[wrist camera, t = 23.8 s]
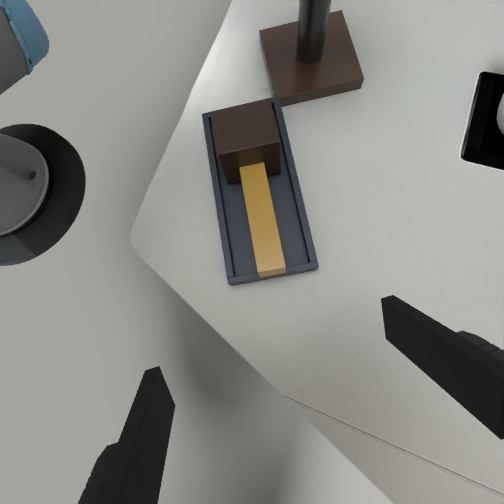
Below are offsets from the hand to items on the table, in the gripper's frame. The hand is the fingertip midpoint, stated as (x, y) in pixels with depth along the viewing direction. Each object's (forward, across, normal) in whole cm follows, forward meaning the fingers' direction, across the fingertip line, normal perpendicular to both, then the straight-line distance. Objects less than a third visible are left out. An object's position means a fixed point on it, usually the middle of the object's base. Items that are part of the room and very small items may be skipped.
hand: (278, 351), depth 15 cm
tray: (+22, +4, +8) cm, 24 cm away
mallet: (+20, +4, +7) cm, 22 cm away
